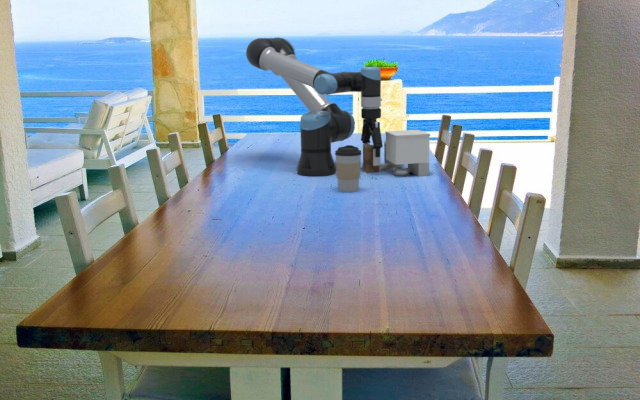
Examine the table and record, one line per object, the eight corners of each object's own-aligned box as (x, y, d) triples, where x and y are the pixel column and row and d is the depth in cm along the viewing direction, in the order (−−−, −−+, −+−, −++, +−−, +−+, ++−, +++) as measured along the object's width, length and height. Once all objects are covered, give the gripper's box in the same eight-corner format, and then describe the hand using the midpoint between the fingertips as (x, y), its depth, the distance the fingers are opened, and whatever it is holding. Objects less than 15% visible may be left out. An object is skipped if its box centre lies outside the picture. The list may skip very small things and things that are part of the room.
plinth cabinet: (395, 177, 255) (395, 135, 252) (385, 171, 267) (385, 131, 263) (429, 175, 258) (430, 133, 255) (417, 169, 270) (418, 129, 266)
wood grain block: (366, 172, 266) (366, 147, 264) (363, 170, 271) (363, 145, 268) (402, 170, 269) (402, 145, 267) (398, 168, 274) (398, 143, 271)
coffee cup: (359, 193, 232) (359, 149, 228) (333, 192, 233) (332, 148, 230) (363, 187, 240) (363, 144, 237) (337, 186, 242) (337, 144, 239)
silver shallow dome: (397, 176, 258) (397, 170, 257) (391, 174, 263) (391, 167, 263) (412, 175, 259) (412, 169, 259) (405, 173, 265) (405, 166, 264)
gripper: (390, 110, 252) (391, 167, 257) (370, 104, 276) (371, 157, 280) (371, 111, 250) (371, 168, 255) (352, 105, 274) (353, 158, 279)
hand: (371, 162), depth 268 cm, fingers open, 13 cm apart
